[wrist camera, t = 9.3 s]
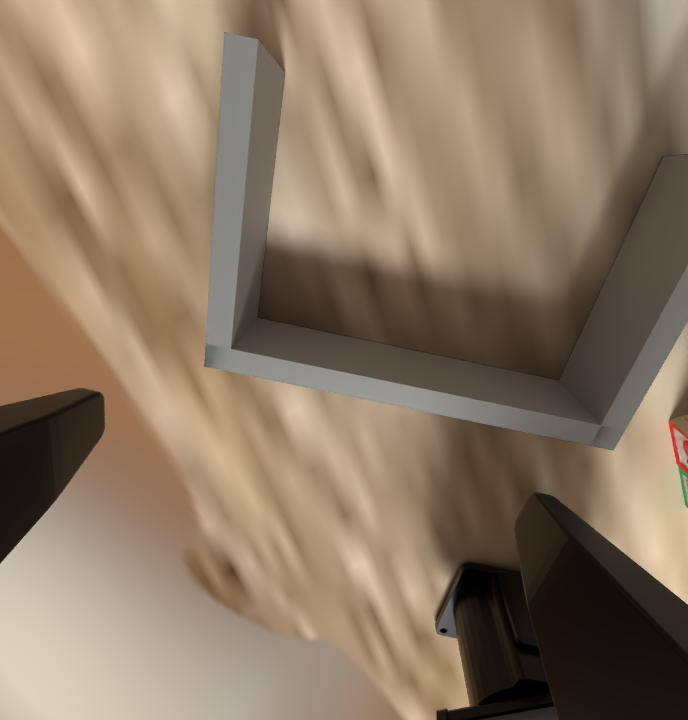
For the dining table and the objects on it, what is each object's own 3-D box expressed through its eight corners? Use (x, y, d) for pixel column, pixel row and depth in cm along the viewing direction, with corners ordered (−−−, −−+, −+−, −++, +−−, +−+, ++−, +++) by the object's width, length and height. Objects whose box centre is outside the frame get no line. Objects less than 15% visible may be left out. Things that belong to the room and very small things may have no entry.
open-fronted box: (569, 402, 20) (613, 450, 17) (235, 332, 20) (204, 366, 16) (688, 161, 16) (782, 155, 12) (259, 66, 16) (224, 31, 12)
